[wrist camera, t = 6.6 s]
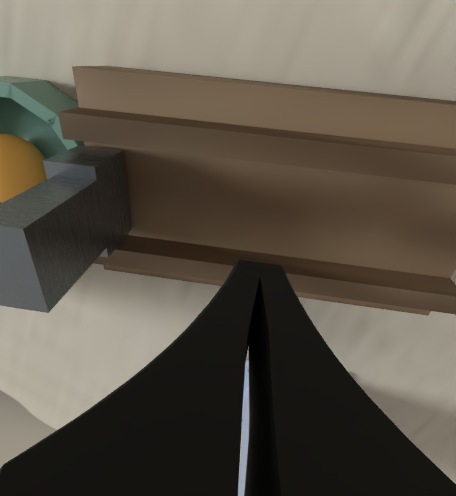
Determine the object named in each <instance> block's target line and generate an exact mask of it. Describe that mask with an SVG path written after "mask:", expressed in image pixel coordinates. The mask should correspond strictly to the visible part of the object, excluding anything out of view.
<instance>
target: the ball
mask: <svg viewBox="0 0 456 496" xmlns="http://www.w3.org/2000/svg"><path fill="white" fill-rule="evenodd" d="M43 160H46V159H45V157H44V156H43V154H42V153H41V152H40V150H39V149H38V148H37V147H35V146H34V145H33V144H32V143H30V142H29V141H27V140H25V139H23V138H21V137H18V136H15V135H11V134H0V202H1V203H3V202H5V201H7V200H9V199H11V198H12V197H14V196H16V195H18V194H20V193H22V192H24V191H26V190H28V189H30V188H32V187H34V186H36V185H38V184H40V183H42V182H43V181H45V180H47V177H46V173H45V168H44V164H43Z"/></svg>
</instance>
